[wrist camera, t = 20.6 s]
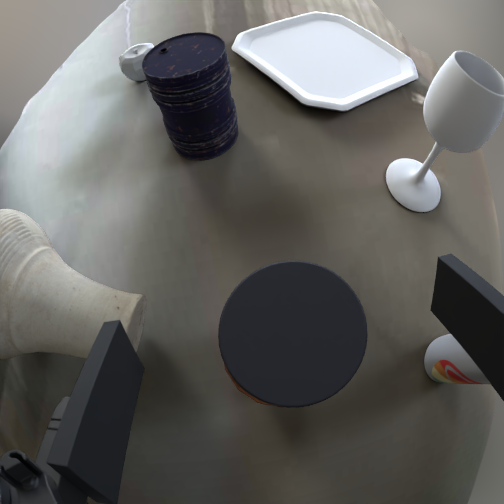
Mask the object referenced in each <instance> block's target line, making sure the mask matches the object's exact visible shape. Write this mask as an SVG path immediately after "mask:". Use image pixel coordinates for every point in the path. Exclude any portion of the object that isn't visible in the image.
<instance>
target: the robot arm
mask: <svg viewBox="0 0 504 504" xmlns="http://www.w3.org/2000/svg"><path fill="white" fill-rule="evenodd" d="M431 311H432V312H433V314H434V315H435V316H436V317H437V318H438V319H439V320H440V322H441V323H442V324H443V325H444V326H445V327H446V329H447V330H448V331H449V332H450V333H451V334H452V336H453V337H454V338H455V339H456V340H457V342H458V343H459V344H460V345H461V346H462V348H463V349H464V350H465V351H466V353H467V354H468V355H469V356H470V358H471V359H472V360H473V361H474V363H475V364H476V365H477V366H478V368H479V369H480V370H481V371H482V373H483V374H484V375H485V377H486V378H487V379H488V381H489V382H490V383H491V385H492V386H493V387H494V389H495V390H496V391H497V393H498V394H499V395H500V397H501V398H502V400H503V401H504V296H503V295H502V294H501V293H500V292H498V291H497V290H496V289H495V288H494V287H493V286H491V285H490V284H489V283H488V282H487V281H485V280H484V279H483V278H482V277H481V276H479V275H478V274H477V273H476V272H474V271H473V270H472V269H471V268H469V267H468V266H467V265H465V264H464V263H463V262H462V261H460V260H459V259H458V258H456V257H455V256H454V255H452V254H448V255H444V256H440V257H438V262H437V271H436V279H435V286H434V293H433V299H432V305H431ZM143 373H144V367H143V365H142V363H141V361H140V359H139V358H138V356H137V354H136V352H135V350H134V348H133V346H132V344H131V342H130V340H129V338H128V336H127V334H126V331H125V329H124V327H123V325H122V323H121V321H120V320H115V321H108V322H104V323H103V325H102V327H101V329H100V331H99V333H98V335H97V337H96V340H95V342H94V344H93V346H92V348H91V350H90V352H89V355H88V357H87V359H86V361H85V363H84V366H83V368H82V370H81V373H80V375H79V377H78V379H77V382H76V384H75V387H74V389H73V391H72V394H71V396H70V397H64V398H63V399H62V400H61V401H60V402H59V404H58V405H57V406H56V408H55V410H54V412H53V415H52V417H51V421H50V422H49V425H48V427H47V428H48V430H46V433H45V435H44V438H43V440H42V443H41V446H40V449H39V451H38V454H37V457H36V460H35V462H33V461H32V460H31V459H30V458H29V457H28V456H27V455H26V454H25V453H23V452H22V451H20V450H16V449H13V450H10V451H8V452H6V453H5V454H4V455H3V456H2V457H1V459H0V504H88V503H87V497H88V496H89V497H90V498H92V499H93V500H95V501H96V502H98V503H104V504H117V502H118V496H119V489H120V483H121V477H122V472H123V466H124V461H125V455H126V450H127V445H128V440H129V435H130V430H131V425H132V421H133V416H134V412H135V407H136V403H137V398H138V394H139V390H140V386H141V381H142V377H143Z"/></svg>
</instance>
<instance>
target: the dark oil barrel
mask: <svg viewBox="0 0 504 504" xmlns="http://www.w3.org/2000/svg"><path fill="white" fill-rule="evenodd" d="M142 69H143V72H144V74H145V76H146V79H147V84H148V87H149V89H150V92H151V93H152V97H153V99H154V101H155V102H156V103H157V105H158V106H159V107H160V109H161V112H162V114H163V121H164V125H165V127H166V130H167V133H168V135H169V138H170V139H171V141H172V142H173V145H174V148H175V149H176V151H177V152H178V153H179V154H180V155H181V156H183V157H185V158H187V159H191V160H208V159H212V158H215V157H217V156H219V155H221V154H223V153H225V152H226V151H227V150H229V149H230V148H231V147H232V145H233V144H234V143H235V141H236V139H237V136H238V127H237V114H236V108H235V104H234V100H233V98H232V97H231V92H230V84H231V74H230V66H229V61H228V58H227V54H226V46H225V42H224V41H223V39H221V38H220V37H218V36H216V35H214V34H210V33H202V32H198V33H187V34H182V35H178V36H175V37H172V38H170V39H167V40H165V41H163V42H161V43H159V44H158V45H156V46H155V47H153V48H152V49H151V50H150V51H149V52H148V53H147V54H146V55H145V57H144V58H143V61H142Z"/></svg>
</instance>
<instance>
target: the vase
mask: <svg viewBox="0 0 504 504" xmlns="http://www.w3.org/2000/svg"><path fill="white" fill-rule="evenodd" d="M145 310H146V298H145V296H144V295H140V294H132V293H127V292H123V291H119V290H116V289H113V288H110V287H107V286H105V285H102V284H100V283H97V282H95V281H93V280H91V279H89V278H87V277H85V276H83V275H81V274H79V273H78V272H76V271H74V270H73V269H72V268H70V267H69V266H68V265H67V264H66V263H65V262H64V261H63V260H62V259H61V258H60V256H59V254H58V253H57V252H56V251H55V250H54V249H53V247H52V245H51V242H50V241H49V239H48V237H47V235H46V234H45V232H44V231H43V229H42V228H41V227H40V226H39V225H38V224H37V223H36V222H35V221H34V220H32V219H31V218H30V217H29V216H27V215H26V214H24V213H22V212H19V211H16V210H11V209H0V359H8V358H12V357H15V356H18V355H21V354H23V353H24V354H29V353H33V352H49V353H58V354H64V355H69V356H75V357H79V358H84V359H87V357H88V355H89V352H90V350H91V348H92V346H93V344H94V342H95V340H96V337H97V335H98V333H99V331H100V329H101V327H102V325H103V323H104V322H108V321H115V320H120V321H121V323H122V325H123V327H124V329H125V331H126V334H127V336H128V338H129V340H130V342H131V344H132V346H133V348H134V350H135V352H137V349H138V346H139V343H140V339H141V335H142V331H143V326H144V316H145Z"/></svg>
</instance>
